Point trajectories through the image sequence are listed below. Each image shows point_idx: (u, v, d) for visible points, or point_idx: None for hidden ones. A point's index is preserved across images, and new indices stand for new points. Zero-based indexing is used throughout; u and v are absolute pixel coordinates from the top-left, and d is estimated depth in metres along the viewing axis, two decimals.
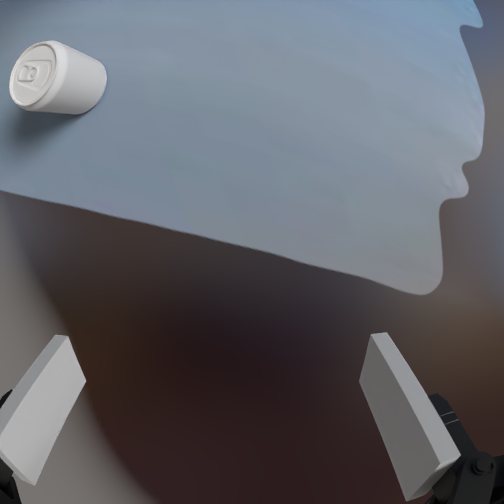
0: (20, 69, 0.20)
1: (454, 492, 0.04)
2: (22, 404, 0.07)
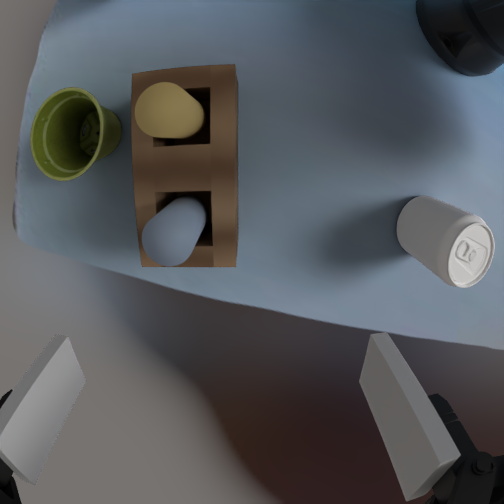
0: (461, 244, 0.24)
1: (455, 492, 0.04)
2: (22, 404, 0.07)
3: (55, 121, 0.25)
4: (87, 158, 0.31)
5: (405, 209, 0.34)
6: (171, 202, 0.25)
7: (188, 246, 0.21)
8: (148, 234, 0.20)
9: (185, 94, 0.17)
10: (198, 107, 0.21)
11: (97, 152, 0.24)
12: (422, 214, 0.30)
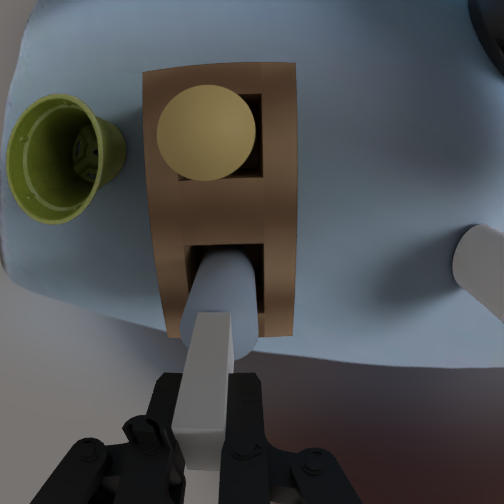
0: None
1: (220, 482, 0.06)
2: None
3: (38, 139, 0.19)
4: (83, 185, 0.24)
5: (464, 241, 0.27)
6: (209, 259, 0.18)
7: (250, 339, 0.14)
8: (189, 324, 0.14)
9: (246, 107, 0.10)
10: None
11: (96, 186, 0.18)
12: (486, 250, 0.23)
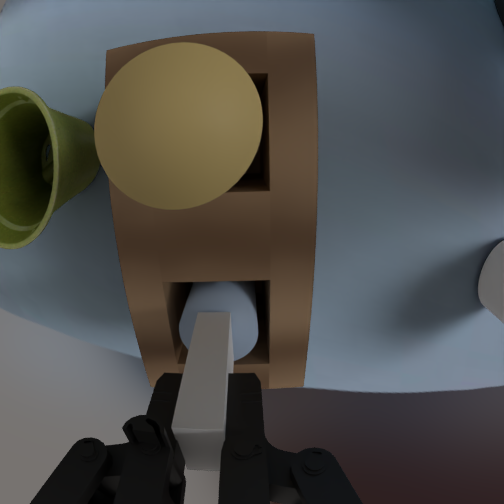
0: None
1: (220, 482, 0.06)
2: None
3: None
4: None
5: (492, 258, 0.22)
6: None
7: (250, 339, 0.14)
8: (189, 324, 0.14)
9: (246, 79, 0.06)
10: None
11: (52, 203, 0.13)
12: None
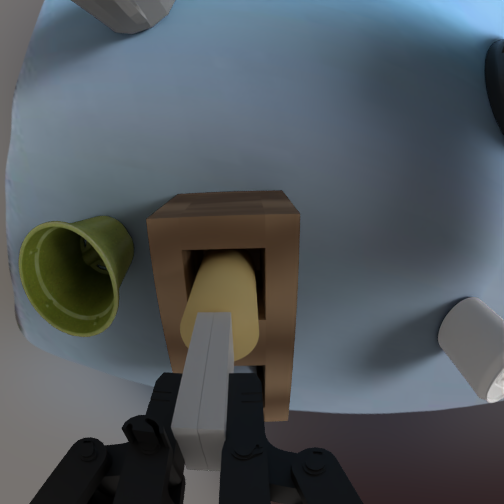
0: (503, 373, 0.20)
1: (220, 482, 0.06)
2: None
3: (47, 246, 0.21)
4: (95, 279, 0.27)
5: (450, 316, 0.29)
6: None
7: None
8: None
9: (252, 316, 0.14)
10: (255, 288, 0.17)
11: (114, 314, 0.20)
12: (469, 330, 0.26)
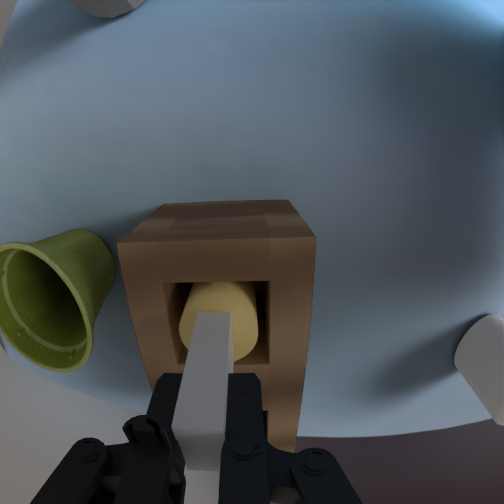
0: None
1: (219, 482, 0.06)
2: None
3: (15, 267, 0.17)
4: (74, 301, 0.22)
5: (469, 336, 0.25)
6: None
7: None
8: None
9: (251, 317, 0.14)
10: (254, 288, 0.17)
11: (89, 351, 0.16)
12: (489, 352, 0.22)
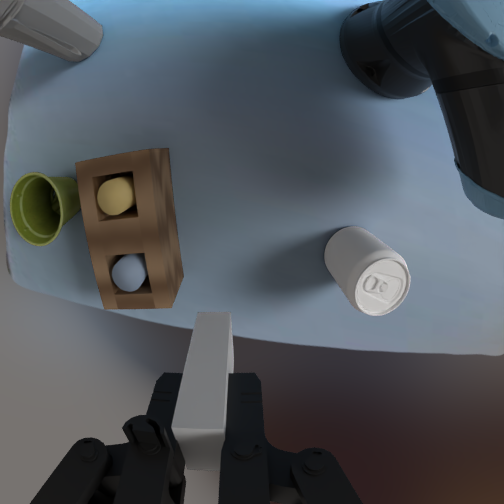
0: (368, 279, 0.31)
1: (220, 482, 0.06)
2: None
3: (28, 194, 0.32)
4: (58, 219, 0.37)
5: (330, 241, 0.40)
6: None
7: (139, 279, 0.32)
8: (115, 273, 0.32)
9: (125, 187, 0.29)
10: None
11: (60, 225, 0.31)
12: (340, 248, 0.37)
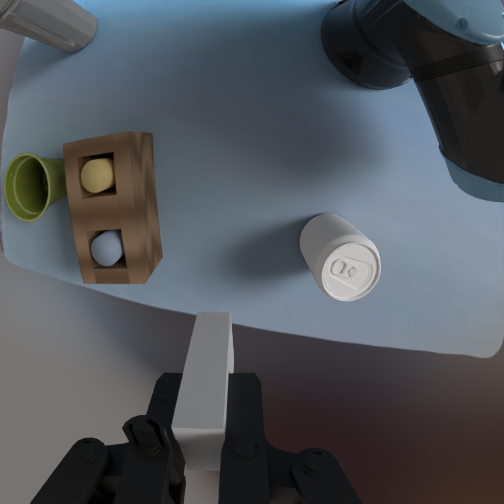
0: (335, 263, 0.32)
1: (220, 482, 0.06)
2: None
3: (21, 173, 0.33)
4: None
5: (305, 228, 0.41)
6: None
7: (115, 254, 0.33)
8: (94, 247, 0.33)
9: (105, 167, 0.30)
10: None
11: (48, 202, 0.32)
12: (312, 233, 0.38)
